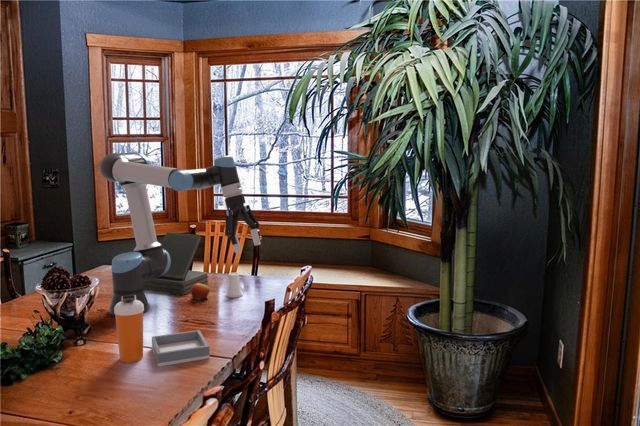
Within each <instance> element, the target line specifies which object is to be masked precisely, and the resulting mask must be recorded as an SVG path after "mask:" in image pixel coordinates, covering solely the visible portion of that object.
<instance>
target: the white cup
mask: <svg viewBox="0 0 640 426" xmlns="http://www.w3.org/2000/svg"><path fill="white" fill-rule="evenodd" d="M240 286H241V285H240V272H229V273H228V288H227V291H226V293H225V297H227V298H232V299H233V298H240V297H243V295H244V294H243V291H242V289H241V287H240Z"/></svg>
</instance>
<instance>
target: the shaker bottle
mask: <svg viewBox="0 0 640 426" xmlns="http://www.w3.org/2000/svg"><path fill="white" fill-rule="evenodd" d="M143 311H144V304H143V303H142V302H141V301H139V300H136V296H135V295H130V296H122V301H121V302H119V303H117V304H116V305H115V307H114V314H115V316H114V317H115V325H116V326H115V327H116V334H117V343H118V344H117V346H118V353H119V355H118V356H119V360H120V362H122V363H134V362H138V361H141V360H142V359H143V358H144V313H143Z"/></svg>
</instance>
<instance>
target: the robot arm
mask: <svg viewBox="0 0 640 426" xmlns="http://www.w3.org/2000/svg"><path fill="white" fill-rule="evenodd" d="M213 162H214V165H212V166H208V167H205V168H197V169H196V168H195V169H182V168H175V167H168V166H161V165H160V166H159V165H154V164H152V163H151V161H150V159H149V158H148V157H147V156H146V155H145V154H143V153H141V152H134V151H133V152H119V153H117V152H115V153H113V152H112V153H108V154H107V155H105V156H104V157H103V158H102V159H101V161H100V164H99V173H100V174H101V176H102V178H103V179H105V180H106V181H109V182H114V183H115V182H116V183H119V185H120V188H121V189H123V190H124V191H125V196H126V200H127V206H128V211H129V215H130V220H131V225H132V230H133V236H134V239H135V244H136V246H135V247H134V248H133V251H128V252H122V253H120V254H117V255H116V256H114V257H113V258H112V260H111V274H112V275H111V277H112V298H111V301H110V304H109V307H108V308H109V310H108V311H109V315H111V316H114V317H115V314H114V307H115V305H116V304H117V303H119V302H121V301H122V296H130V295H135V296H136V300H139V301H141V302H142V303H143V304H144V311H143V314H145V313H147V312H149V310H150V308H149V307H150V306H149V305H150V304H149V302H148V299H147V296H146V294H145V292H144V291H145V290H144V289H143V282H144V281H147V280H150V279H153V278H157V277H160V276H161V275H163V274H165V273H166V272H167V271H168V269H169V268H170V264H171V259H170V255H169V253H168V252H167V251H166V250H165V249H163V248H162V243H160V242H158V239H157V233H156V228H155V223H154V219H153V214H152V210H151V209H152V208H151V204H150V199H149V195H148V189H147V186H148V185H151V186H152V185H153V186H159V187H164V188H170V189H172V190H174V191H176V192H186V191H192V190H193V191H194V190H197V191H200V190H206V189H209V188H211V187H214V186H216V185H220V188H221V192H222V196H223V198H224V202H225V205H226V208H228V209H227V210H225V211H224V215H225V224H224V225H225V227H224V229H225V230H224V234H225V237H227V238H229V239H230V241H231V242H230V243H231V245H232V247H233V251H234V253H235V254H239V253H242V251H243V250H242V248H241V247H242V246H241V243H240V239H239V236H238V235H236V233H237V228H238V224H239V221H240V220H242V221H244V222H245V224H246V225H247V226H248V227H249V228H250V230H249V231H250V234H251V237H252V238H251V239H252V242H253V245H254V247H256V246H260V245H261V244H262V242H261V240H260V236H259V231H258V229H259V228H260V223H259V221H258V220H257V217H256V216H255V214H254V213H253V211H252V209H251V206H250V204H247V205H244V204H245V203H246V199H245V195H244V194H243V192H244V191H243V188H242V185H241V184H242V183H241V181H240V177H239V175H238V169H237V165H236V163H235V160H234V157H233V156H232V155H225V156H224V155H223V156H221V157H217V158H215V159H214V161H213Z"/></svg>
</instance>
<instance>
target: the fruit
mask: <svg viewBox="0 0 640 426" xmlns="http://www.w3.org/2000/svg"><path fill="white" fill-rule="evenodd" d="M210 291H211V289H210V287H209V286H208V285H204V284H200V283H197V284H194V285H193V286H192V289H191V292H190V293H191V297H192V300H194V299H195V300H198V302H200V300H205V299H206V298H207V297H208V295H209V293H210Z"/></svg>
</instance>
